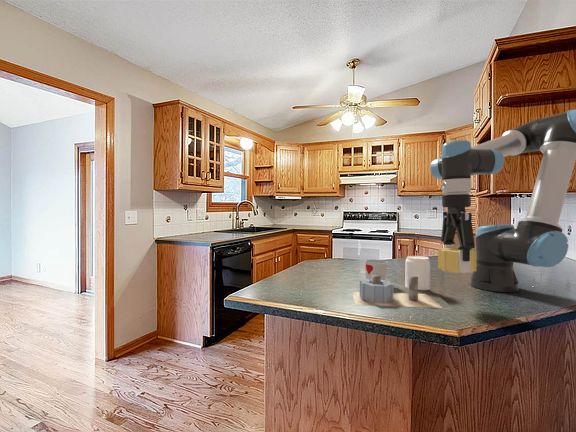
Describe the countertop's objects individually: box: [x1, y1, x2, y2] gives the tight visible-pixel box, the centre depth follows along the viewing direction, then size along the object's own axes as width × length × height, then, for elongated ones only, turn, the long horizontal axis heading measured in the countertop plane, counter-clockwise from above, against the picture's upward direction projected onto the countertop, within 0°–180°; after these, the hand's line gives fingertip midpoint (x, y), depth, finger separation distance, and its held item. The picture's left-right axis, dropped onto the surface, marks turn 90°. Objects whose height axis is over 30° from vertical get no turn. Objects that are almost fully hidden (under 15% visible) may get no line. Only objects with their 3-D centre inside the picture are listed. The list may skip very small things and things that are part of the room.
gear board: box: [350, 275, 443, 309], centre depth 94 cm, size 24×14×8 cm, turn 84°
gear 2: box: [437, 247, 476, 274], centre depth 92 cm, size 10×10×6 cm
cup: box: [364, 259, 389, 281], centre depth 112 cm, size 8×8×10 cm
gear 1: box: [359, 278, 395, 303], centre depth 95 cm, size 10×10×5 cm
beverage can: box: [404, 255, 431, 291], centre depth 109 cm, size 8×8×12 cm
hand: (456, 268), depth 92 cm, fingers closed on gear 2, 10 cm apart
